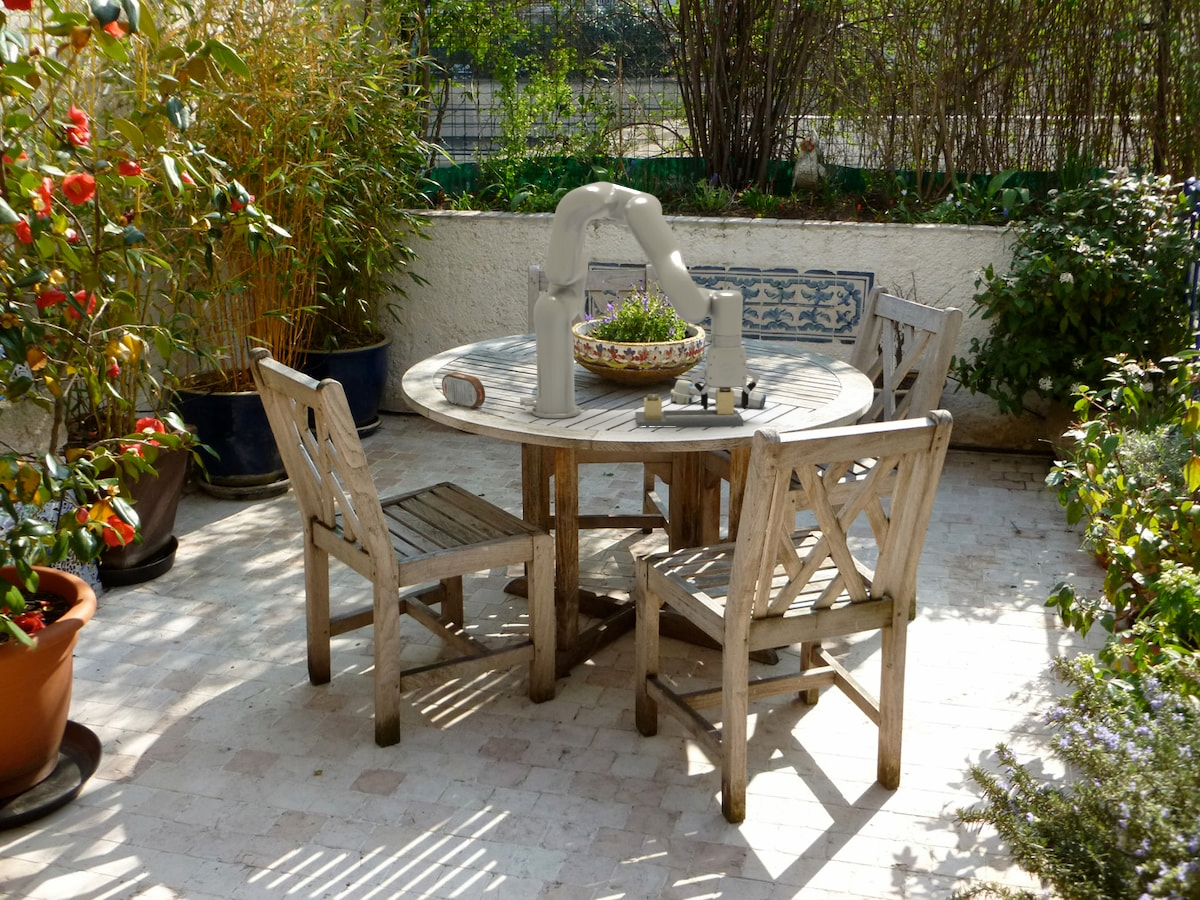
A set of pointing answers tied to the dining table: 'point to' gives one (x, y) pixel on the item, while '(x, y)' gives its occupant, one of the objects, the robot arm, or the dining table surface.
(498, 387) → the dining table surface
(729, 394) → the block
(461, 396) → the tin
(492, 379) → the dining table surface
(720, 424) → the bolt plate
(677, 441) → the dining table surface
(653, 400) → the fixed leg
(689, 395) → the grey flashlight
